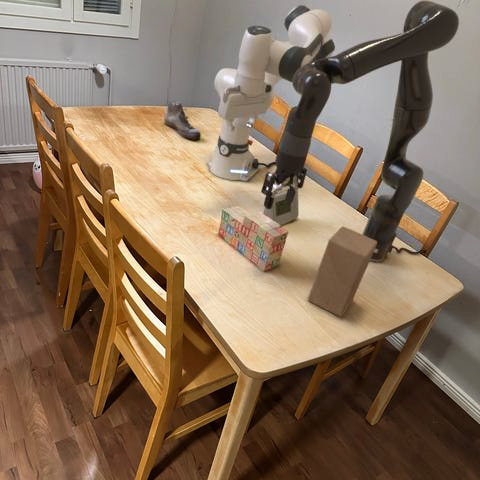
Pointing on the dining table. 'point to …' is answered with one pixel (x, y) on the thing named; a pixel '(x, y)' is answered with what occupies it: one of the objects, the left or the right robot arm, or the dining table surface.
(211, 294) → the dining table surface
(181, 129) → the shoe
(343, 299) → the wooden block
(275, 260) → the stack of blocks
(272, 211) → the digital clock
